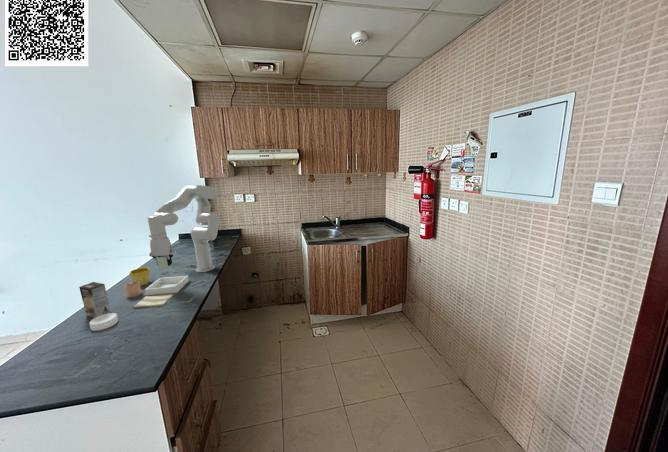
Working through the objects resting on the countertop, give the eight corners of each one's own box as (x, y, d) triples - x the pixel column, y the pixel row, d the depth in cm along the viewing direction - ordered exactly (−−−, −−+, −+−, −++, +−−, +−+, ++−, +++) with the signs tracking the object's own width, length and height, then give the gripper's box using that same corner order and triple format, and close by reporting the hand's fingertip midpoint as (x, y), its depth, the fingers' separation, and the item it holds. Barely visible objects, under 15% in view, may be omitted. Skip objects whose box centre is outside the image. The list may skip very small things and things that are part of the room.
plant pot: (156, 281, 174) (153, 267, 171) (143, 288, 163) (140, 273, 161) (141, 281, 175) (138, 267, 173) (128, 288, 165) (125, 273, 162)
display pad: (146, 297, 150) (145, 296, 150) (174, 295, 152) (173, 293, 152) (133, 308, 138) (132, 306, 138) (163, 305, 140) (163, 304, 140)
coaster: (109, 329, 120) (107, 322, 120) (85, 332, 119) (83, 325, 118) (122, 317, 130) (121, 311, 129) (100, 320, 128) (98, 314, 128)
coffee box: (85, 316, 132) (78, 286, 129) (100, 310, 138) (93, 281, 135) (97, 319, 129) (90, 288, 126) (112, 312, 135) (105, 283, 132)
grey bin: (161, 284, 168) (159, 277, 167) (189, 282, 170) (188, 275, 169) (145, 296, 151) (144, 289, 151) (177, 294, 153) (175, 286, 152)
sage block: (163, 265, 160) (160, 254, 159) (171, 264, 161) (169, 254, 159) (158, 268, 156) (156, 257, 154) (167, 268, 156) (165, 256, 154)
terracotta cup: (131, 293, 156) (129, 281, 154) (144, 292, 157) (141, 280, 155) (124, 299, 149) (121, 286, 148) (137, 298, 150) (134, 285, 148)
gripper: (139, 239, 149) (146, 269, 153) (171, 236, 151) (177, 266, 155) (147, 235, 157) (153, 264, 161) (177, 233, 158) (182, 261, 163)
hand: (165, 265), depth 158 cm, fingers closed on sage block, 5 cm apart
